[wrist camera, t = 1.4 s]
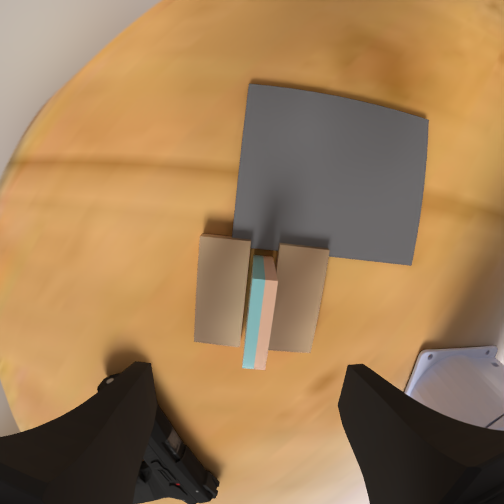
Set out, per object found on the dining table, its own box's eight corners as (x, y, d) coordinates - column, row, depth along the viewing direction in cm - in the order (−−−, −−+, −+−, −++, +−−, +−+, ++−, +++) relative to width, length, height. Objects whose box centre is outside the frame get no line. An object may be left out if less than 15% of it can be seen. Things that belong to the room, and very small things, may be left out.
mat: (425, 120, 17) (428, 119, 17) (408, 264, 19) (411, 265, 19) (249, 85, 17) (249, 83, 17) (231, 244, 19) (231, 245, 19)
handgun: (51, 380, 23) (148, 363, 22) (136, 490, 26) (229, 488, 25) (33, 398, 20) (132, 387, 19) (129, 510, 23) (226, 512, 22)
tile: (272, 256, 19) (278, 281, 15) (263, 328, 21) (265, 369, 16) (253, 254, 19) (252, 278, 15) (245, 327, 21) (242, 367, 16)
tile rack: (326, 246, 19) (329, 250, 18) (308, 345, 21) (310, 352, 20) (202, 233, 19) (200, 236, 18) (196, 334, 21) (194, 341, 20)
